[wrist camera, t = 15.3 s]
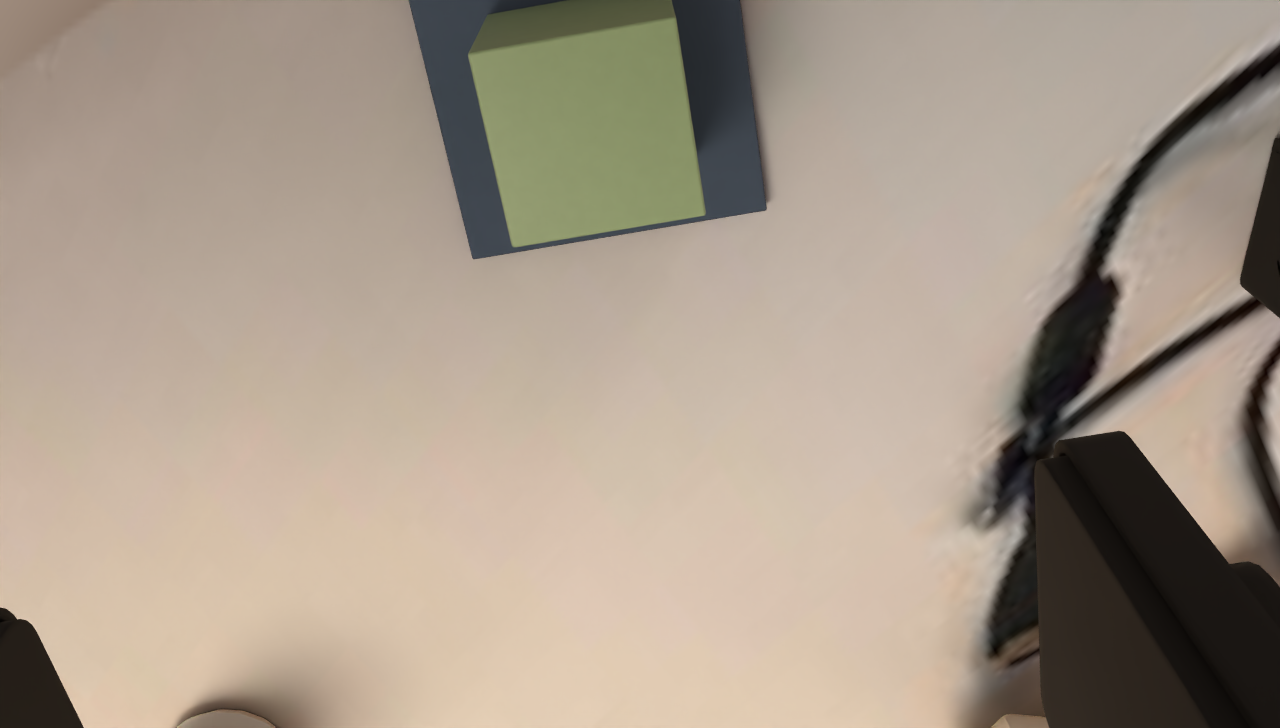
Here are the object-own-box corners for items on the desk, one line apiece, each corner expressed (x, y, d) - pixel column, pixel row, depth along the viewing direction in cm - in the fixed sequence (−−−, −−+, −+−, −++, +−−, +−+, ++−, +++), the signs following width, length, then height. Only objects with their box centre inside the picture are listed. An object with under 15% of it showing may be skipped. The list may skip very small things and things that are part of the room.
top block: (524, 187, 32) (512, 248, 28) (486, 14, 30) (466, 53, 26) (694, 158, 32) (706, 216, 28) (667, -19, 30) (676, 15, 26)
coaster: (474, 254, 33) (472, 260, 33) (399, -49, 29) (397, -47, 29) (765, 205, 33) (767, 210, 32) (725, -108, 29) (726, -107, 29)
